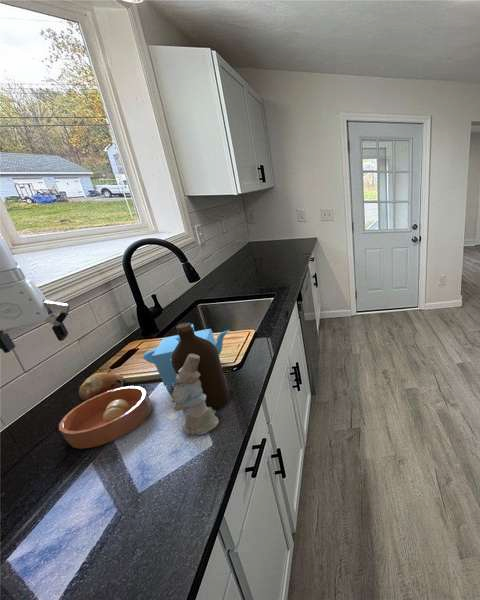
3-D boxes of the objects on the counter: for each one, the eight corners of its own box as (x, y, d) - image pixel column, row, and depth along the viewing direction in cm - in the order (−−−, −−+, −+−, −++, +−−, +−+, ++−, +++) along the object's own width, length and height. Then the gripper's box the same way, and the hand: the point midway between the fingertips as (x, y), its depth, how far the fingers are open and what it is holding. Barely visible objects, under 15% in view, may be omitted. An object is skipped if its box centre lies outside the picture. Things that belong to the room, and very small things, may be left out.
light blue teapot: (150, 385, 100) (131, 345, 94) (204, 353, 115) (191, 318, 110) (189, 398, 92) (171, 356, 87) (240, 363, 108) (229, 325, 102)
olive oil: (238, 399, 90) (212, 322, 81) (198, 421, 83) (164, 339, 74) (224, 385, 97) (198, 312, 87) (185, 404, 90) (153, 327, 80)
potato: (118, 429, 83) (127, 414, 83) (96, 426, 80) (105, 411, 80) (126, 411, 89) (133, 397, 89) (105, 408, 87) (113, 394, 86)
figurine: (226, 411, 86) (204, 349, 78) (211, 436, 78) (185, 369, 70) (193, 415, 86) (168, 352, 78) (175, 439, 78) (145, 373, 70)
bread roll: (104, 394, 103) (80, 379, 99) (132, 374, 104) (111, 359, 100) (90, 413, 94) (64, 398, 90) (122, 392, 96) (97, 376, 92)
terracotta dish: (55, 460, 74) (45, 444, 72) (82, 414, 89) (74, 400, 87) (146, 429, 82) (138, 415, 80) (157, 392, 96) (151, 378, 94)
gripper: (-72, 292, 64) (-23, 362, 71) (43, 275, 71) (77, 340, 78) (-46, 282, 70) (-3, 348, 77) (57, 267, 77) (88, 328, 84)
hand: (37, 344), depth 77 cm, fingers open, 9 cm apart
